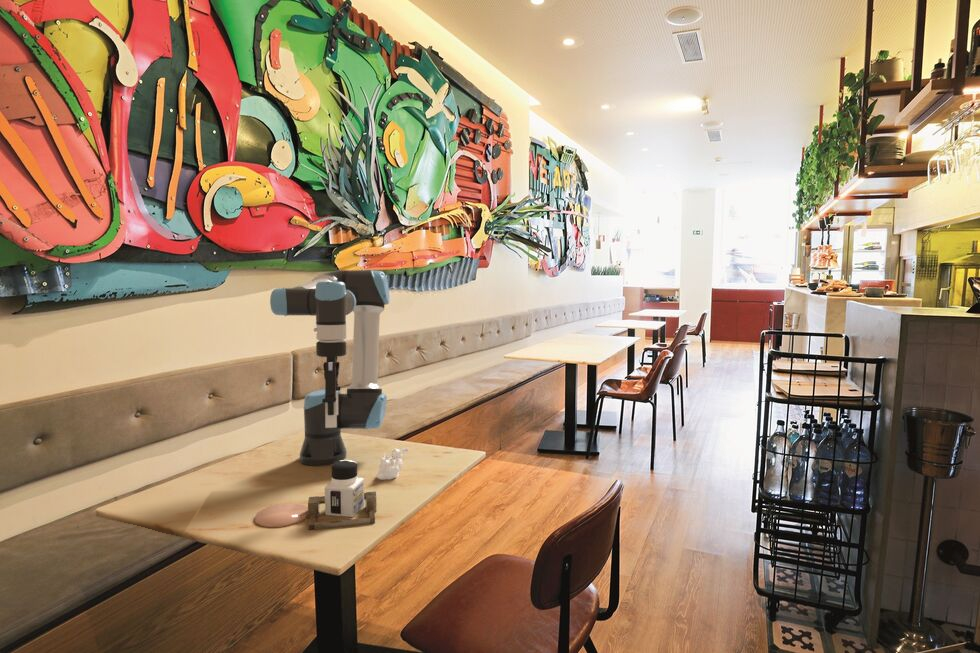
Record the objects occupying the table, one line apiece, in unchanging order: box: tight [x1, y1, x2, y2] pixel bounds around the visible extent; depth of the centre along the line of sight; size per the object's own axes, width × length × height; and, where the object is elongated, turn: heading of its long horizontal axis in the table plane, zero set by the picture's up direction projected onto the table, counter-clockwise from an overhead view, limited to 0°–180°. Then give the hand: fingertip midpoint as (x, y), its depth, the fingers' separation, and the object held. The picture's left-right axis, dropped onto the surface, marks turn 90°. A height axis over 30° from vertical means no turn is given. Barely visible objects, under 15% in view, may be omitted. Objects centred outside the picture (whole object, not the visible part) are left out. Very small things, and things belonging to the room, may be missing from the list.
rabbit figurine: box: [376, 447, 409, 481], centre depth 170 cm, size 12×8×10 cm, turn 145°
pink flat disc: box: [254, 502, 308, 528], centre depth 142 cm, size 13×13×1 cm
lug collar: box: [307, 491, 377, 531], centre depth 145 cm, size 17×17×4 cm
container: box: [324, 459, 365, 518], centre depth 145 cm, size 8×8×13 cm
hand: (332, 421), depth 146 cm, fingers open, 13 cm apart
